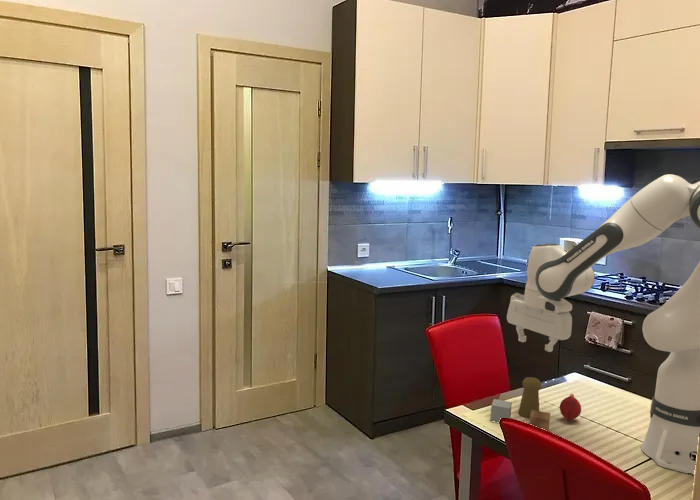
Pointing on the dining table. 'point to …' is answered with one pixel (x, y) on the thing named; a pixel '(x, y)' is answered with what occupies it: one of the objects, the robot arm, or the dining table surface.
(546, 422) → the walnut block
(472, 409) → the dining table surface
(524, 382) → the cork
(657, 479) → the dining table surface
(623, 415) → the dining table surface
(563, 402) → the onion
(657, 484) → the dining table surface
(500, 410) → the slate block
